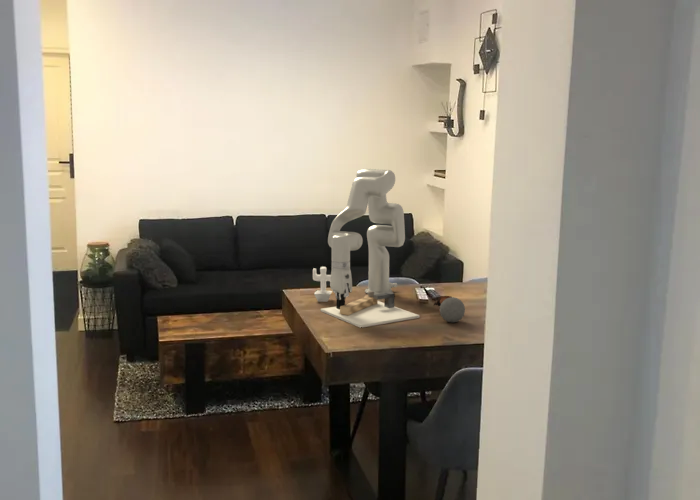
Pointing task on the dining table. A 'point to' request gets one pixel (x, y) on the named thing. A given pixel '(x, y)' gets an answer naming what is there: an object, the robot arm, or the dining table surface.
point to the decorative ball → (452, 309)
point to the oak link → (359, 304)
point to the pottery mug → (440, 300)
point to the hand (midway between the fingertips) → (340, 308)
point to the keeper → (386, 298)
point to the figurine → (322, 284)
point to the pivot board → (372, 315)
